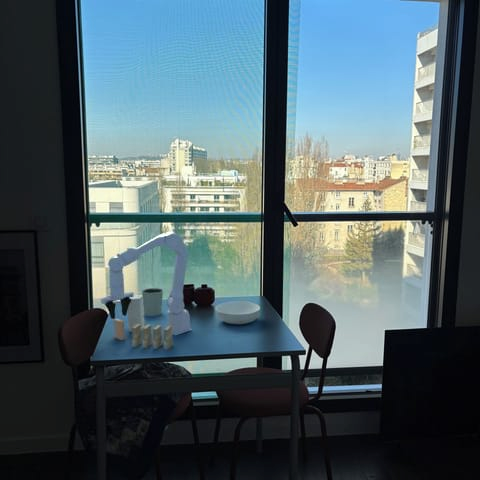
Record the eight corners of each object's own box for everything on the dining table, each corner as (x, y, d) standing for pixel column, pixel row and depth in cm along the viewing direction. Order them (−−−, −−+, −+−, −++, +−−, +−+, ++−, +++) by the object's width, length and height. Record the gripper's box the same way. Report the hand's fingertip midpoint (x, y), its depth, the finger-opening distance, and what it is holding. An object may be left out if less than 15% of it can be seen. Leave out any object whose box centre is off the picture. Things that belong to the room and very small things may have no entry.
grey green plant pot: (139, 314, 231) (138, 290, 229) (156, 309, 238) (155, 287, 236) (150, 318, 224) (149, 294, 222) (167, 313, 231) (166, 290, 229)
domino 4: (172, 344, 187) (171, 325, 186) (168, 349, 183) (167, 329, 182) (168, 344, 188) (168, 325, 187) (164, 349, 183) (163, 329, 182)
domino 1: (141, 342, 190) (140, 324, 189) (136, 347, 186) (135, 328, 185) (138, 342, 191) (137, 323, 190) (132, 346, 186) (131, 327, 185)
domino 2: (151, 343, 189) (151, 324, 188) (146, 347, 185) (146, 328, 184) (148, 343, 190) (147, 324, 189) (143, 347, 185) (142, 328, 184)
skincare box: (141, 331, 204) (140, 298, 202) (128, 332, 204) (126, 299, 202) (144, 325, 213) (143, 294, 211) (131, 326, 212) (130, 294, 210)
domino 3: (162, 344, 188) (161, 325, 187) (157, 348, 184) (156, 329, 183) (158, 344, 189) (157, 325, 188) (153, 348, 184) (152, 329, 183)
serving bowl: (219, 330, 204) (219, 315, 203) (212, 316, 224) (212, 303, 224) (265, 326, 208) (265, 311, 207) (254, 313, 229) (254, 300, 228)
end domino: (118, 336, 199) (117, 318, 197) (124, 339, 195) (123, 320, 194) (114, 337, 197) (113, 319, 196) (121, 340, 194) (120, 321, 193)
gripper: (126, 280, 201) (127, 311, 203) (96, 287, 191) (98, 318, 192) (135, 283, 196) (137, 314, 198) (105, 289, 186) (107, 322, 188)
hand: (118, 316), depth 195 cm, fingers open, 5 cm apart
